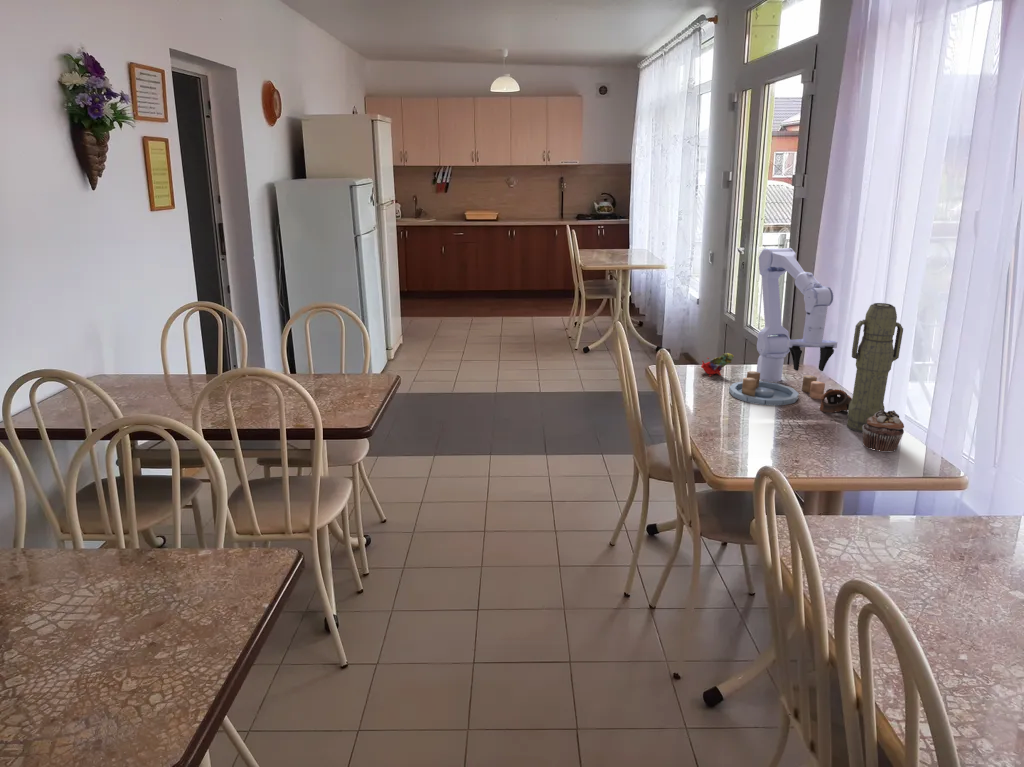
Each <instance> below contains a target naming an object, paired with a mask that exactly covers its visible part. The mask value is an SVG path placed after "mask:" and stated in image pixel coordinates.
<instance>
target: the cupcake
mask: <svg viewBox="0 0 1024 767" xmlns="http://www.w3.org/2000/svg"><path fill="white" fill-rule="evenodd" d="M904 428H905V424H904V422H903V421H902V420H901V419H900V415H899V414H898V413H897V412H896V411H895V410H888V411H885V409H884V410H882V409H881V411H879V412H877V413H875V415H874V416H872V417H870V418H868V419H867V424H864V425H863V427H862V429H863V433H862V443H863V444H864V445H865V446H866V447H868V448H872V449H875V450H880V451H893V452H895V451H896V450H897V449H898V447H899V444H900V441H901V439H902V437H903V435H904V433H905V432H904V431H905V430H904ZM864 445H863V446H864ZM865 446H864V447H865ZM866 447H865V448H866ZM868 448H867V449H868ZM875 450H874V451H875ZM894 450H895V451H894Z"/></svg>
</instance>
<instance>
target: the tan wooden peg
mask: <svg viewBox="0 0 1024 767" xmlns="http://www.w3.org/2000/svg"><path fill="white" fill-rule="evenodd" d="M817 380H818V378H817V377H816V376H815V375H809V374H808V375H807V374H806V375H803V378H802V385H801V391H802V392H803V393H809V394H810V388H811V382H813V381H817Z"/></svg>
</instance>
